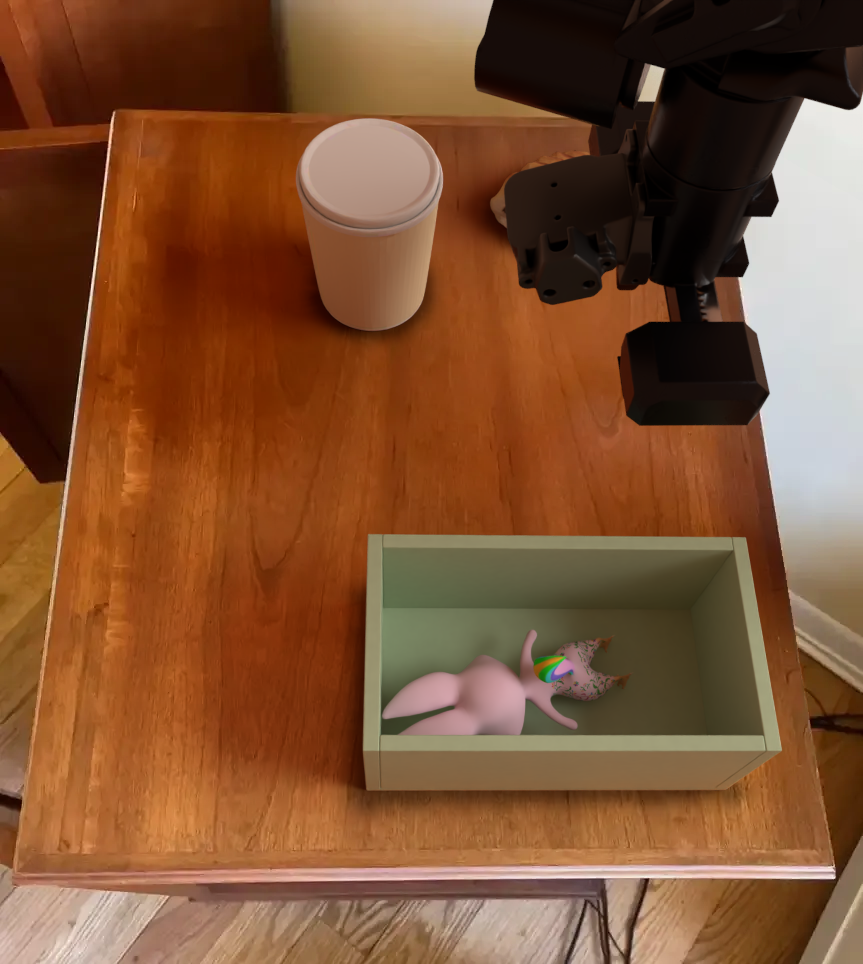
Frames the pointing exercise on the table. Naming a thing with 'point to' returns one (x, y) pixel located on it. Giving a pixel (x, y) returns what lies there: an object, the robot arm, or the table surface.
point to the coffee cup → (370, 219)
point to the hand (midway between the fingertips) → (634, 352)
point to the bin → (559, 620)
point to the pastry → (499, 200)
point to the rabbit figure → (503, 691)
